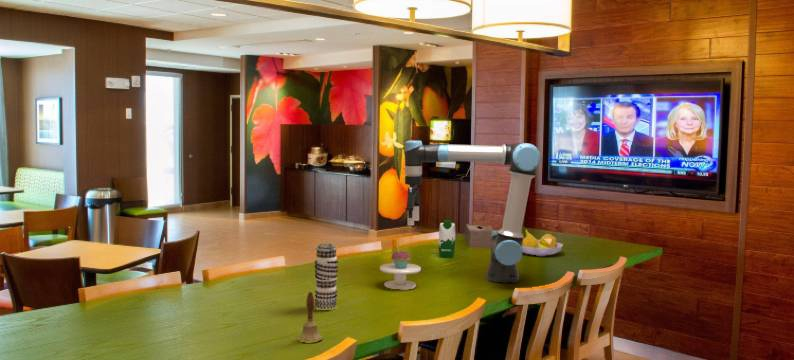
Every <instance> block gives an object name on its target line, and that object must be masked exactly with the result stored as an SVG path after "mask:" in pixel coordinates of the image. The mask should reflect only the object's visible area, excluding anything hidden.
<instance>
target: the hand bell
mask: <svg viewBox="0 0 794 360" xmlns="http://www.w3.org/2000/svg"><path fill="white" fill-rule="evenodd" d="M305 302H306V309H307V321H306V322H304V324H303V327H302V332H301V334H300V337H299V336H298V338H300V339H301V340H304V341H316V340H319V339H321V338H323V336H322V335H321V334H320V333H319V329H318V324H317V323H316V322H315V321H314V316H313V313H314V308H315V297H314V294H313V292H312V291H309V292H308V294H307V297H306V301H305Z"/></svg>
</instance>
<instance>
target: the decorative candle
mask: <svg viewBox="0 0 794 360" xmlns="http://www.w3.org/2000/svg"><path fill="white" fill-rule="evenodd" d="M337 249H338V248H337V247H336V246H335V245H334V244H333V243H321V244H319V245H318V246H317V247H316V248H315V250H316V256H315V260H314V269H315V270H314V273H315V274H314V279H315V282H316V286H315V291H314V296H315V297H314V307H317V308H319V309H333V308H335V306H336V307H337V305H338V303H337V301H338V299H337V297H338V294H337V293H338V291H337V281H336V280H338V275H337V274H336V273H337V272H339V270H338V268H339V266H338V265H337V264H338V263H339V260H338V257H337Z"/></svg>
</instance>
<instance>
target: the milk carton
mask: <svg viewBox="0 0 794 360" xmlns="http://www.w3.org/2000/svg"><path fill="white" fill-rule="evenodd" d="M455 248H456V224H455V222H452V220H447V219H446V220H443V222H440V223H439V229H438V253H439V258H440V259H442V258H443V259H453V258H454V254H455Z"/></svg>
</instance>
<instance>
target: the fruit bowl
mask: <svg viewBox="0 0 794 360" xmlns="http://www.w3.org/2000/svg"><path fill="white" fill-rule="evenodd" d="M524 231H525V237H524V238H523V243H522V250H523V251H522V252H523V253H524V254H525V255H528V254H529V256H534V255H536V256H535V257H547V255H548V256H553V255H555V254H557V253H559V252H561V251H562V248H563V243H560V242H559V241H558V242H557V238H556V237H555V236H554V235H552V234H551V233H545V234H544V235H542V236H541V237H540V239H537V238H536V237H535V236H534V235H533V234H531V233H530V232H529V231H528V229H525V230H524Z"/></svg>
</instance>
